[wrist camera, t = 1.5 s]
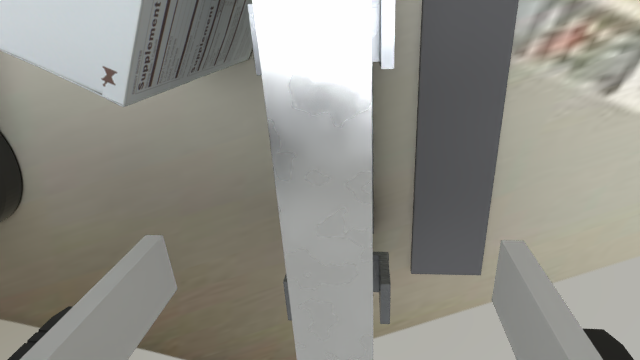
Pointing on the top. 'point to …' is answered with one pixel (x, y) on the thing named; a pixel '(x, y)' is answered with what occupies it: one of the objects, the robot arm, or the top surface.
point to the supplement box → (127, 41)
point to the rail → (322, 167)
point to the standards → (385, 55)
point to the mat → (458, 130)
